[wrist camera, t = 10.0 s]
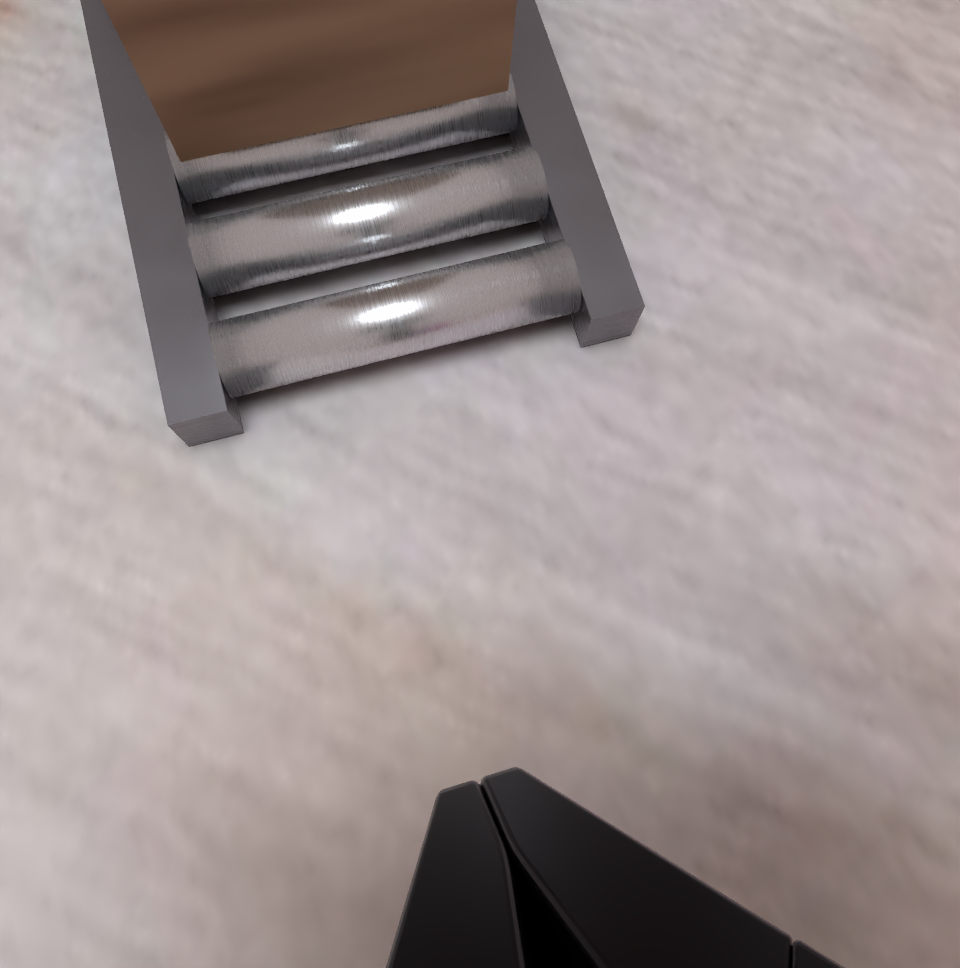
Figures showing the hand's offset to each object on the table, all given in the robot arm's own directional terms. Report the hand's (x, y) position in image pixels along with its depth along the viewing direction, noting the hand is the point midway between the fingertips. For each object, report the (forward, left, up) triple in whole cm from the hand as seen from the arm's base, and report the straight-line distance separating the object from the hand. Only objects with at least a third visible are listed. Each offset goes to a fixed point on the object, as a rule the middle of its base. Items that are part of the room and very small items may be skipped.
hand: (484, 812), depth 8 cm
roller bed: (+7, -17, -14) cm, 23 cm away
